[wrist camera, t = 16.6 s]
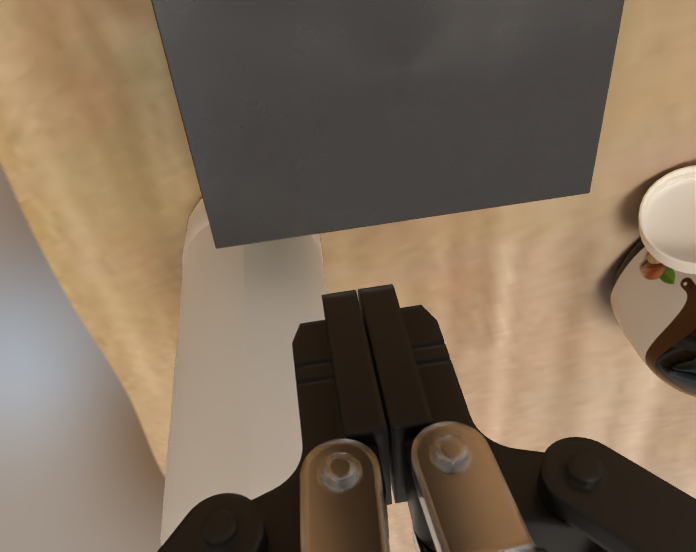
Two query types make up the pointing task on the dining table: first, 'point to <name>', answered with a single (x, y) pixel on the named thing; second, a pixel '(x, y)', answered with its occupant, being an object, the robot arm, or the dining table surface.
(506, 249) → the dining table surface
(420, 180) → the dark gray flat panel
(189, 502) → the bottle
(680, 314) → the spread jar
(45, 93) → the dining table surface
